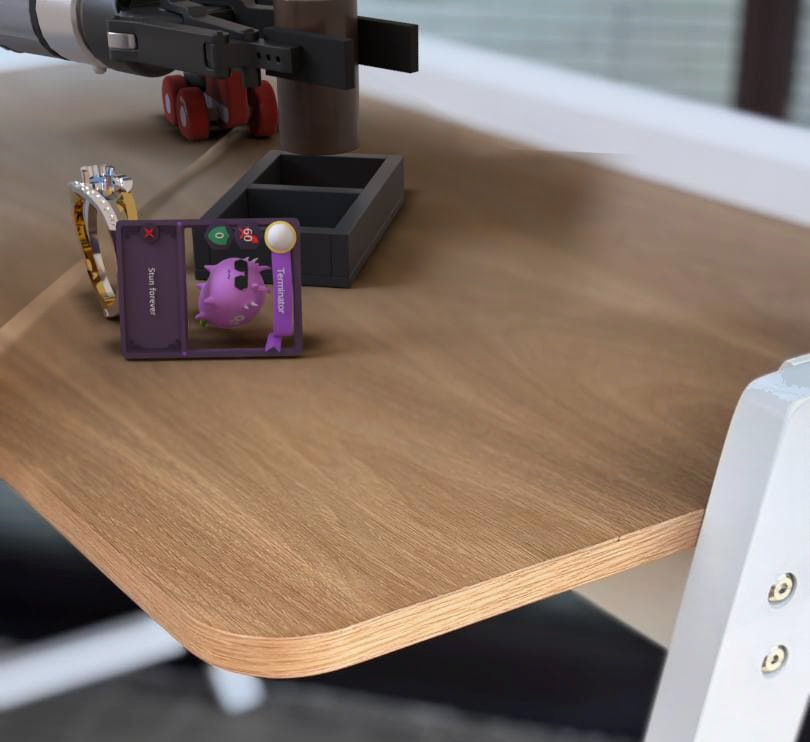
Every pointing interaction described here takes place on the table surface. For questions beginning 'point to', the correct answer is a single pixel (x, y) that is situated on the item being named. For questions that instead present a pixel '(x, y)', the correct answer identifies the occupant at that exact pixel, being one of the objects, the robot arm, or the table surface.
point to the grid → (312, 211)
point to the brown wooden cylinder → (314, 104)
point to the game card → (204, 285)
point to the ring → (96, 196)
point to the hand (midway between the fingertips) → (382, 56)
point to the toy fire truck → (218, 104)
